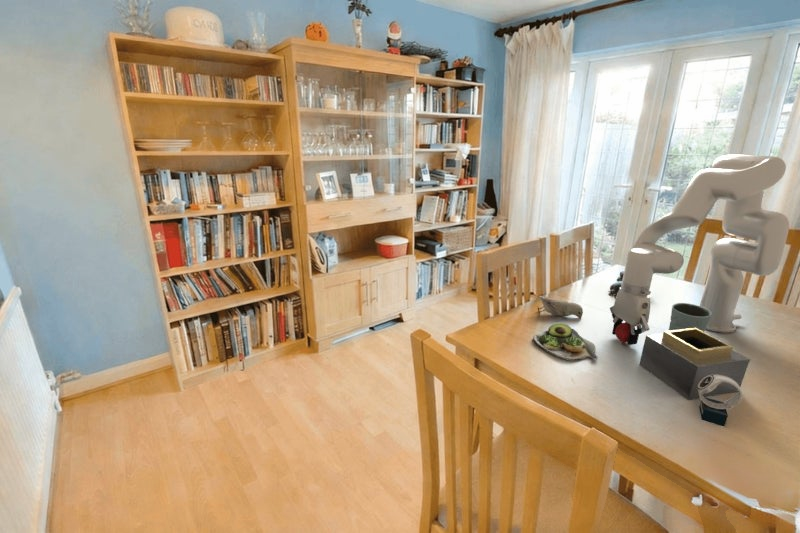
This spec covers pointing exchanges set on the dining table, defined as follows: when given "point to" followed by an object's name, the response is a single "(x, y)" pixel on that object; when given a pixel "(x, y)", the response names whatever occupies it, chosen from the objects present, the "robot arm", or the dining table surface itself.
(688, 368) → the housing
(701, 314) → the grey-green pot
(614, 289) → the dark grey lumpy piece
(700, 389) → the watch
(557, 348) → the salad plate
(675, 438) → the dining table surface
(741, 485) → the dining table surface
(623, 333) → the onion
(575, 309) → the decorative bird
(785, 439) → the dining table surface
